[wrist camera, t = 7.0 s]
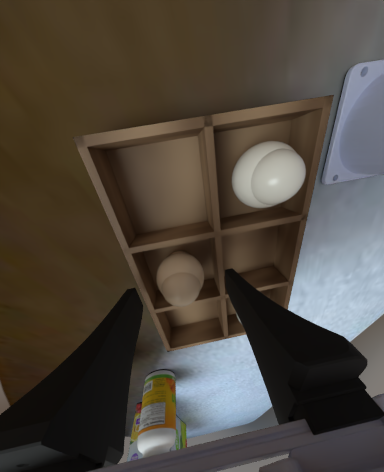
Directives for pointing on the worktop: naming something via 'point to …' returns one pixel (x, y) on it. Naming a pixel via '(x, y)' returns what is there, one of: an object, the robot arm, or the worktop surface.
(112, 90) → the worktop surface
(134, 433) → the snack box
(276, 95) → the worktop surface
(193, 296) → the beige egg
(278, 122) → the egg tray
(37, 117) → the worktop surface
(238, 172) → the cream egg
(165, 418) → the supplement bottle
